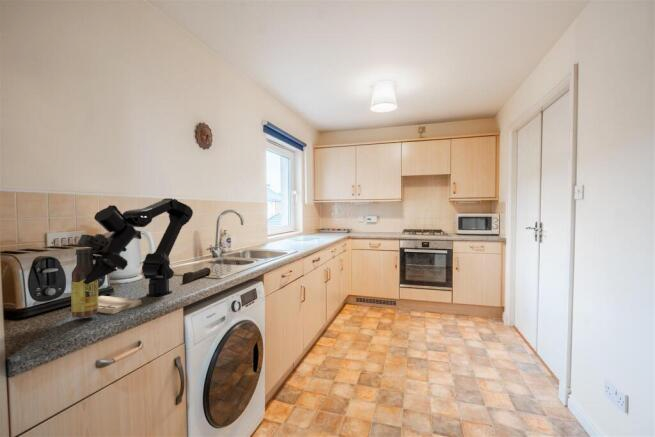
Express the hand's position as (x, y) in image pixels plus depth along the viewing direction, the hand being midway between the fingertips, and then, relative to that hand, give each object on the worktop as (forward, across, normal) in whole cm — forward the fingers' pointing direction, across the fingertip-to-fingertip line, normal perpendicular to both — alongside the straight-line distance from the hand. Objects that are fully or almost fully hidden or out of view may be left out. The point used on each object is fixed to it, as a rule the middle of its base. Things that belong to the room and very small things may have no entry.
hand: (79, 282), depth 87 cm
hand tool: (-28, -12, +45) cm, 55 cm away
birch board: (+1, -7, +16) cm, 17 cm away
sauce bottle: (+6, 0, +8) cm, 10 cm away
